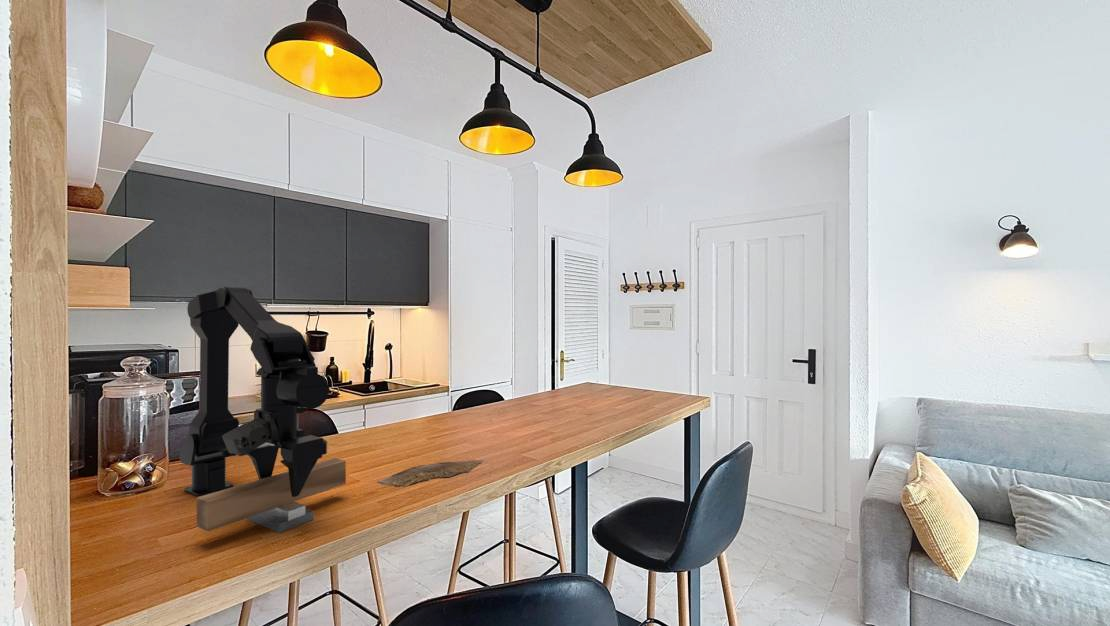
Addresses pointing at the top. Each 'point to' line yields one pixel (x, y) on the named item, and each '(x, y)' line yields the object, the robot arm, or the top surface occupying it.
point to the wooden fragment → (428, 472)
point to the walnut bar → (265, 495)
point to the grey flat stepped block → (283, 517)
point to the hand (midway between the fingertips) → (279, 491)
